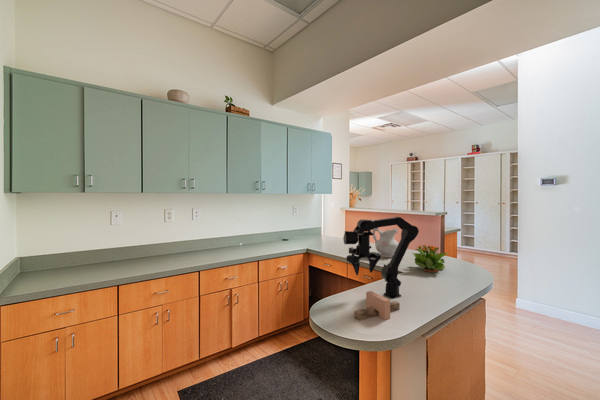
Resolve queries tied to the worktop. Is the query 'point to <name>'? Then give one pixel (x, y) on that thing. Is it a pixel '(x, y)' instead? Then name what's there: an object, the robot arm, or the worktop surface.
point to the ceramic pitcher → (386, 242)
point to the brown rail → (374, 311)
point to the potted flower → (429, 259)
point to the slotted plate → (378, 304)
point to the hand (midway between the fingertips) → (364, 273)
